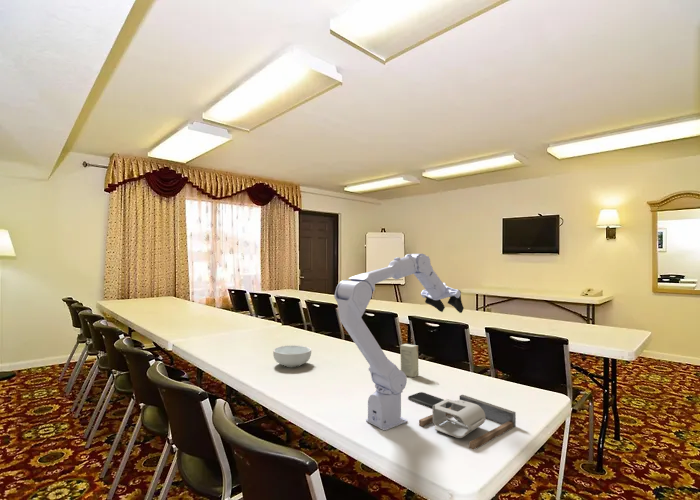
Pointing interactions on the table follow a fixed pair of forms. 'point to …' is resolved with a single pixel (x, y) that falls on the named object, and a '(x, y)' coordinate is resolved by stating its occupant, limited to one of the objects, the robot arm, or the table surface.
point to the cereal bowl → (292, 355)
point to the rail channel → (492, 413)
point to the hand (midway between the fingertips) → (452, 310)
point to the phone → (426, 400)
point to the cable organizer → (458, 417)
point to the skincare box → (409, 359)
